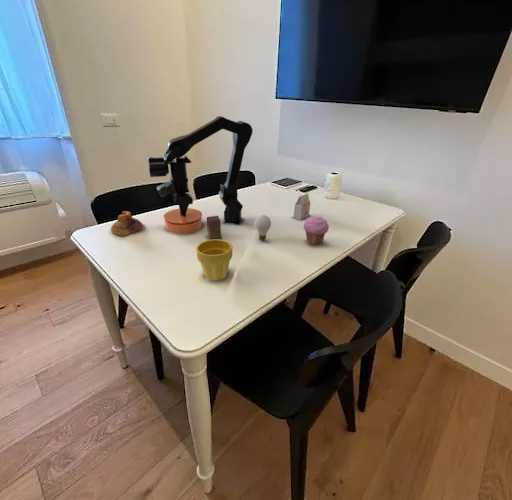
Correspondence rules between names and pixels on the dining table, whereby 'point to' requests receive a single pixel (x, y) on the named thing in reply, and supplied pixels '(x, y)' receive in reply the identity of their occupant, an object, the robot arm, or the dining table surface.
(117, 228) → the bell
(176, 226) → the pot
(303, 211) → the white milk carton
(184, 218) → the lid
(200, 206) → the dining table surface
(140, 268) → the dining table surface
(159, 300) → the dining table surface
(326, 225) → the cupcake
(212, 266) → the flower pot
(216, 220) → the block
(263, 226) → the light bulb
